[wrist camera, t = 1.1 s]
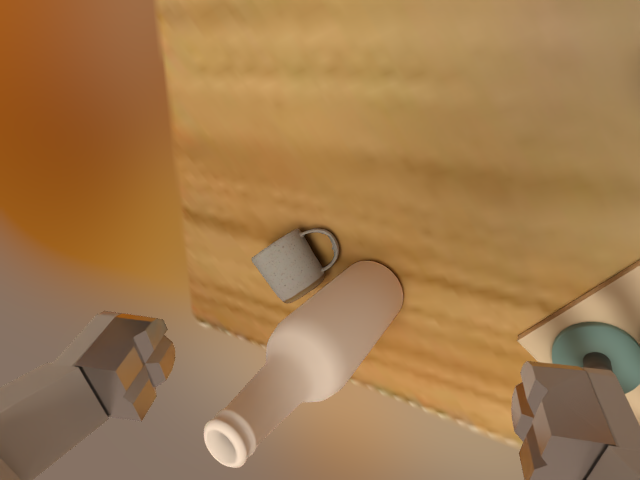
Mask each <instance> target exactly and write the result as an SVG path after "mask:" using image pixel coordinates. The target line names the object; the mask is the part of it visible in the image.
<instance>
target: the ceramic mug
mask: <svg viewBox="0 0 640 480" xmlns="http://www.w3.org/2000/svg"><path fill="white" fill-rule="evenodd" d="M313 232H318V233H322V234H326V235H328V237H329V238H330V240H331V242H332V245H333V247H332V249H333V250H334V258H333V260H332V261H331V263H329V264H328V265H327V266H325V267H322V266H321V264H320V263H319V261H318V259H317V258H316V257H315V255H314V253H313V251H312V250H311V248H310V246H309V244H308V242H307V240H306V239H305V238H304V235H305V234H308V233H313ZM338 255H339V245H338V242H337V240H336V238H335V237H334V235H333V234H332V233H330V232H329V231H327V230H325V229H321V228H314V229H310V230H307V231H305V232H301V231H300V229H298V228H297V229H295V230H293V231H291V232H290V233H288V234H286V235H285V236H283V237H281V238H280V239H278V240H277V241H275V242H274V243H272V244H271V245H269V246H268V247H267V248H265V249H264V250H262V251H261V252H259V253H258V254H257V255H255V256H254V257H252V262H253V263H254V265H255V266H256V267H257V268H258V270H259V271H260V273H261V274H262V276H263V277H264V278H265V280H266V281H267V282H268V284H269V285H270V286H271V288H272V289H273V291H274V292H275V293H276V295H277V296H278V297H279V298H280V299H281V300H282V301H283V302H284V303H292V302H294V301H296V300H297V299H299V298H301V297H302V296H304V295H305V294H307V293H308V292H310V291H311V290H313V289H314V288H315V287H317V286H318V285H319V284H320V283H321V282H322V281H323V280H324V277H325V274H324V271H326V270H327V269H329V268H330V267H331V266H332V265H333V264H334V263H335V261H336V260H337V258H338Z"/></svg>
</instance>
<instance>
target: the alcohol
mask: <svg viewBox="0 0 640 480" xmlns="http://www.w3.org/2000/svg"><path fill="white" fill-rule="evenodd" d="M402 303H403V291H402V287H401V285H400V282H399V281H398V279H397V277H396V276H395V275H394V274H393V272H392V271H390V270H389V269H388V268H387V267H385V266H383V265H382V264H380V263H377V262H374V261H360V262H356V263H354V264H352V265H351V266H350V267H348V268H347V269H346V270H345V271H343V272H342V273H341V274H340V275H338V276H337V277H336V278H335V279H333V280H332V281H331V282H330V283H328V284H327V285H326V286H325V287H323V288H322V289H321V290H320V291H318V292H317V293H316V294H315V295H313V296H312V297H311V298H310V299H309V300H307V301H306V302H305V303H304V304H302V305H301V306H300V307H299V308H297V309H296V310H295V311H294V312H292V313H291V314H290V315H289V316H287V317H286V318H285V319H284V320H282V321H281V322H280V323H279V324H278V326H277V327H276V329H275V330H274V332H273V333H272V335H271V337H270V338H269V340H268V343H267V351H266V363H265V365H264V366H263V367H262V368H261V369H260V371H259V372H258V373H257V374H256V375H255V376H254V377H253V378H252V379H251V380H250V382H249V383H248V384H247V385H246V386H245V387H244V388H243V389H242V390H241V391H240V392H239V394H238V395H237V396H236V397H235V398H234V399H233V400H232V401H231V402H230V404H229V405H228V406H227V407H226V408H225V409H222V410H220V411H219V412H218V413H217V414H216V415H215V417H214V419H212V420H210V421H209V422H207V423H206V425H205V427H204V439H205V443H206V446H207V448H208V450H209V452H210V453H211V454H212V456H213V457H214V458H215V459H216V460H218V461H219V462H220V463H221V464H223V465H225V466H228V467H234V468H235V467H240V466H242V465H243V464H244V463H245V462H246V460H247V457H249V456H251V455H252V454H253V453H254V451H255V450H256V448H257V445H258V444H259V443H260V442H261V441H262V440H263V439H264V438H265V437H266V436H267V435H269V433H271V432H272V431H273V430H274V428H276V427H277V426H278V425H279V424H280V423H281V422H282V421H283V420H284V419H285V418H286V417H287V416H288V415H289V414H290V413H291V412H292V411H293V410H294V409H295V408H296V407H297V406H298V405H299V404H300V403H302V402H319V401H323V400H326V399H327V398H329V397H331V396H332V395H334V394H335V393H336V392H338V391H339V390H341V389H342V388H343V386H344V385H345V384H346V383H347V381H348V380H349V379H350V377H351V376H352V375H353V373H354V372H355V371H356V369H357V368H358V366H359V365H360V364H361V362H362V361H363V360H364V358H365V357H366V356H367V354H368V353H369V352H370V350H371V349H372V348H373V346H374V345H375V344H376V342H377V341H378V339H379V338H380V337H381V335H382V334H383V333H384V331H385V330H386V329H387V327H388V326H389V325H390V323H391V322H392V321H393V319H394V318H395V317H396V315H397V314H398V312H399V311H400V309H401V307H402Z"/></svg>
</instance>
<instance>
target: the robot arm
mask: <svg viewBox="0 0 640 480" xmlns="http://www.w3.org/2000/svg"><path fill="white" fill-rule="evenodd" d="M166 331H167V327H166V324H165V322H164V320H163V319H158V318H152V317H145V316H138V315H131V314H124V313H116V312H108V311H103V312H101V313H99V314H97V315H96V316H95V317H94V318H93V319H92V320H91V321H90V323H89V324H88V325H87V326H86V327H85V328H84V329H83V330H82V332H80V334H79V335H78V336H77V337H76V338H75V339H74V340H73V341H72V343H71V344H70V345H69V346H68V347H67V348H66V349H65V350H64V351H63V353H62V354H61V355H60V356H59V357H58V358H57V359H56V360H55V361H54V362H53V363H45V364H43V365H42V366H40V367H38V368H36V369H34V370H32V371H30V372H28V373H26V374H25V375H23V376H21V377H19V378H17V379H15V380H13V381H11V382H9V383H8V384H6V385H4V386H2V387H0V480H33V479H34V478H35V477H37V476H38V475H39V474H40V473H42V472H43V471H44V470H46V469H47V468H48V467H49V466H51V465H52V464H53V463H54V462H56V461H57V460H58V459H59V458H61V457H62V456H63V455H64V454H66V453H67V452H68V451H69V450H71V449H72V448H73V447H74V446H76V445H77V444H78V443H79V442H81V441H82V440H83V439H84V438H86V437H87V436H88V435H89V434H91V433H92V432H93V431H95V430H96V429H97V428H98V427H100V426H101V425H102V424H103V423H105V422H106V421H107V420H108V419H109V418H108V417H113V418H120V419H127V420H135V421H142V420H143V418H144V417H145V415H146V413H147V412H148V410H149V408H150V407H151V405H152V403H153V402H154V400H155V398H156V396H157V395H156V387H157V386H158V385H160V384H161V383H163V382H164V381H166V380H167V378H168V376H169V374H170V373H171V371H172V368H173V365H174V361H175V348H174V345H173V342H172V341H171V340H169V339H168V338H167V337H166V336H165V335H164V334H165V333H166ZM520 373H521V377H522V381H523V382H522V383H520V384H518V385H517V386H515V389H514V393H513V396H512V408H511V410H512V421H513V426H514V431H515V433H516V434H517V435H518V436H519V437H520V439H521V440H522V441H523V444H522V447H521V449H520V452H519V456H520V461H521V465H522V470H523V475H524V480H640V425H639V423H638V421H637V419H636V417H635V414H634V412H633V410H632V408H631V406H630V404H629V402H628V400H627V398H626V396H625V394H624V392H623V390H622V387H621V385H620V383H619V381H618V379H617V377H616V375H615V374H614V373H613V372H612V371H611V370H602V369H594V368H585V367H579V366H570V365H561V364H551V363H542V362H532V361H527V362H525V363H524V364H523V367H522V370H521V372H520Z"/></svg>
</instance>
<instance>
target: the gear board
mask: <svg viewBox="0 0 640 480" xmlns="http://www.w3.org/2000/svg"><path fill="white" fill-rule="evenodd" d="M517 341H518V342H519V343H520V344H521V345H522V346H523V347H524V348H525V349H526V350H527V351H528V352H529V353H530V354H531V355H532V356H533V357H534V358H535V359H536V360H537V361H538V362H542V363H551V364H561V365H570V366H579V367H585V368H594V369H602V370H611V371H612V372H613V373H614V374H615V375H616V377H617V379H618V381H619V383H620V385H621V387H622V390H623V392H624V394H625V396H626V398H627V400H628V402H629V404H630V406H631V408H632V410H633V412H634V414H635V417H636V419H637V421H638V423H639V425H640V260H639V261H637V262H636V263H634V264H633V265H631V266H629V267H628V268H626V269H624V270H623V271H621V272H620V273H618V274H616V275H615V276H613V277H612V278H610V279H608V280H607V281H605V282H604V283H602V284H600V285H599V286H597V287H596V288H594V289H592V290H591V291H589V292H588V293H586V294H584V295H583V296H581V297H580V298H578V299H576V300H575V301H573V302H572V303H570V304H568V305H567V306H565V307H563V308H562V309H560V310H559V311H557V312H555V313H554V314H552V315H551V316H549V317H547V318H546V319H544V320H543V321H541V322H539V323H538V324H536V325H535V326H533V327H531V328H530V329H528V330H527V331H525V332H523V333H522V334H520V335H519V336H518V340H517Z"/></svg>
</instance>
